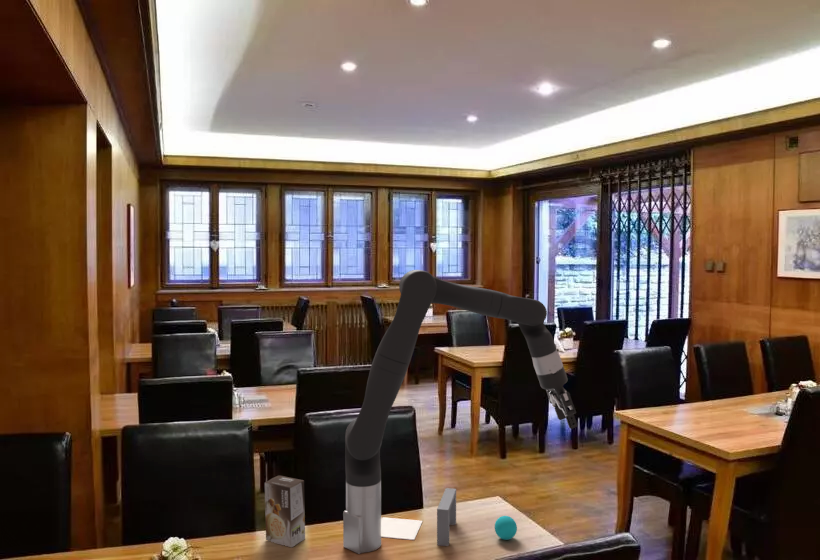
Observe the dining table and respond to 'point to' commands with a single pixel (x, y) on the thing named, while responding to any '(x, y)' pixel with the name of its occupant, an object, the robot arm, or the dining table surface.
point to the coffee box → (285, 510)
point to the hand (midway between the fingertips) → (567, 423)
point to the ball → (505, 527)
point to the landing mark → (399, 528)
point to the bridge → (446, 516)
